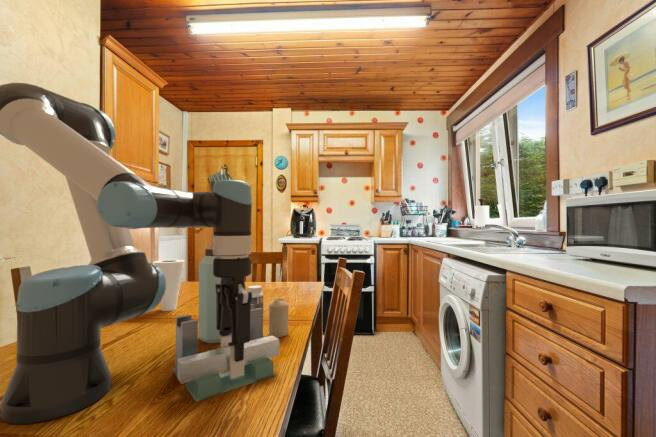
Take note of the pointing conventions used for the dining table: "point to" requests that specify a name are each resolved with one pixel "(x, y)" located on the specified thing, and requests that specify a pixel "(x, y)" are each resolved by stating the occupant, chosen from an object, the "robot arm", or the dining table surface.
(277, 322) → the candle
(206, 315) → the water bottle
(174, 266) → the cup
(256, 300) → the pill bottle
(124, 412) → the dining table surface
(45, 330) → the robot arm
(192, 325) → the stand
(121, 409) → the dining table surface
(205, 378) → the rest
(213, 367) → the rail
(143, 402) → the dining table surface
